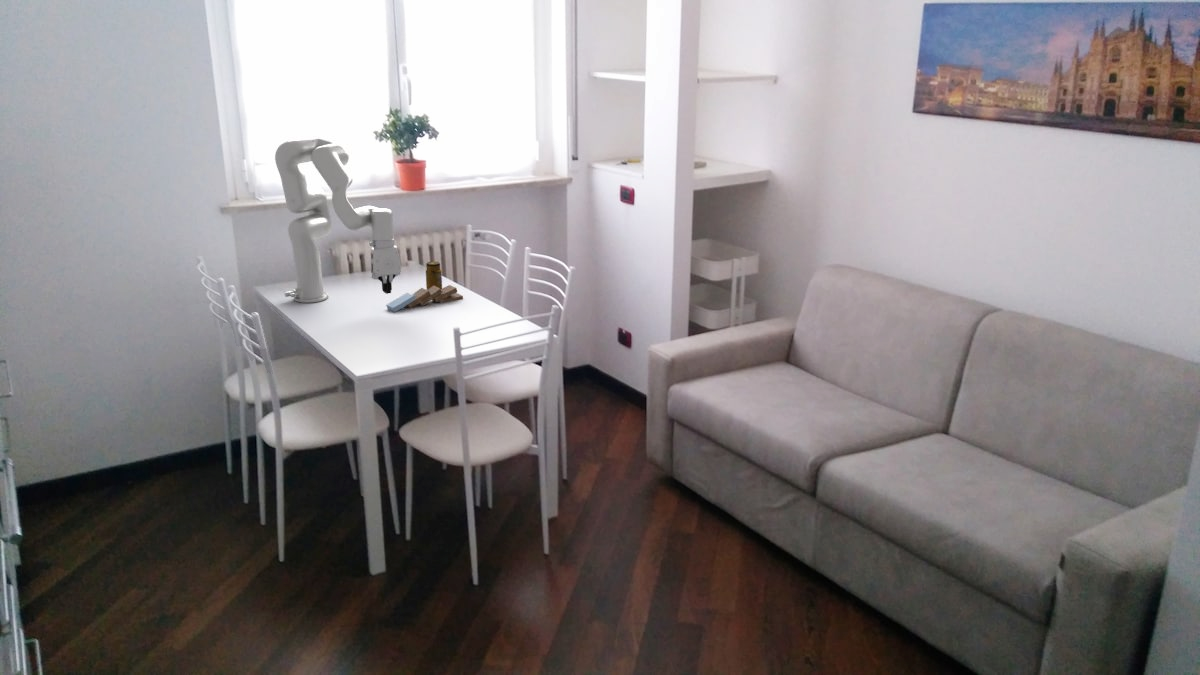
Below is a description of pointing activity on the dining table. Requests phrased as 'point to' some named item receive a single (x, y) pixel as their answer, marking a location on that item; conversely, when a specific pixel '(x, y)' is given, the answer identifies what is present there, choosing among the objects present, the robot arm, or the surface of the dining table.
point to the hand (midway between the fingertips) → (387, 292)
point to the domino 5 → (451, 298)
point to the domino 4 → (445, 293)
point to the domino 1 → (400, 302)
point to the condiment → (433, 275)
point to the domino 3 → (434, 292)
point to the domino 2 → (419, 297)
